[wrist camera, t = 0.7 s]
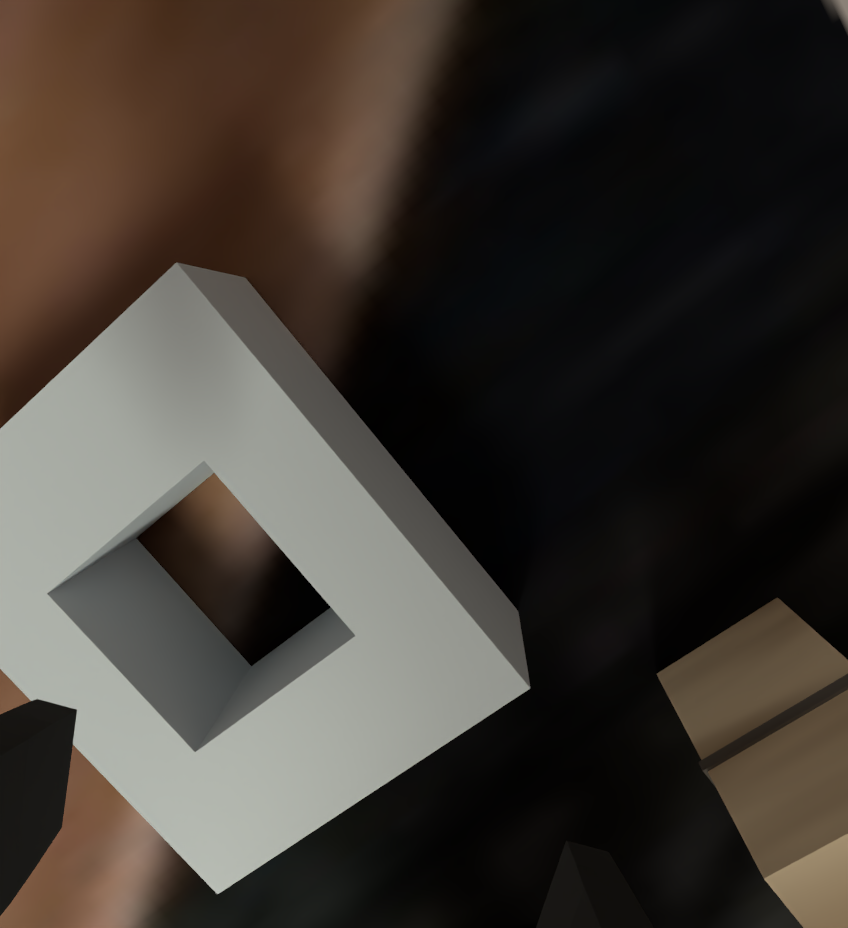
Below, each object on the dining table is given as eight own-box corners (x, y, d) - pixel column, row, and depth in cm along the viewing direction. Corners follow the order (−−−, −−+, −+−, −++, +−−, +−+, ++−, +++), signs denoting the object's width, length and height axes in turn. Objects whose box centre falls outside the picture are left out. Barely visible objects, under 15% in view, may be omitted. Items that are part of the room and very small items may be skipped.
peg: (859, 701, 18) (1093, 929, 11) (733, 774, 19) (880, 1028, 12) (778, 593, 18) (971, 763, 11) (652, 673, 18) (757, 877, 12)
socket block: (518, 610, 18) (530, 688, 14) (267, 784, 20) (217, 894, 16) (245, 277, 17) (176, 262, 13) (3, 498, 19) (-122, 542, 15)
